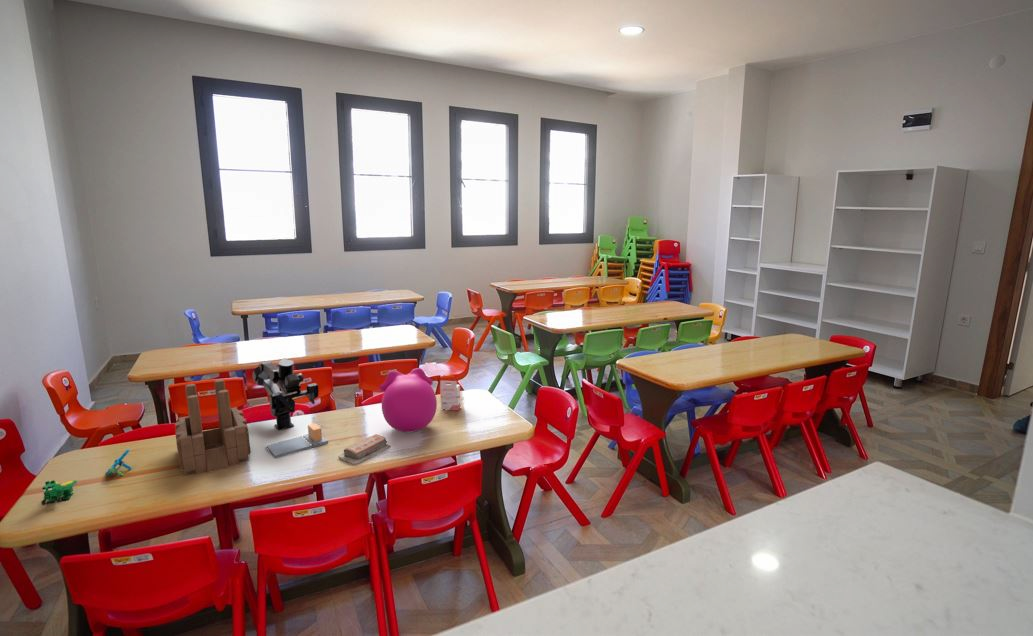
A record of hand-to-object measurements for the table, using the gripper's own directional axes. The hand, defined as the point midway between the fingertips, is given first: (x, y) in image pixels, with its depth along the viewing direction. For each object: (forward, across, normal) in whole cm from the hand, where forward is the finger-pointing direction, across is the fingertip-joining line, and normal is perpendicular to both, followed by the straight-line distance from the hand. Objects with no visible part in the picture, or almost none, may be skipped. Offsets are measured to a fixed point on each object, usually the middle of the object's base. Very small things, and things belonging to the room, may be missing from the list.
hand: (302, 406), depth 206 cm
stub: (+3, +4, +16) cm, 17 cm away
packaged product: (+27, +14, +10) cm, 32 cm away
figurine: (+20, +38, +13) cm, 45 cm away
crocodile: (-11, -75, +17) cm, 78 cm away
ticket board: (+3, -7, +16) cm, 17 cm away
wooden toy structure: (-10, -30, +19) cm, 37 cm away
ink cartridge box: (+12, +65, +16) cm, 68 cm away
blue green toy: (-18, -60, +20) cm, 65 cm away
